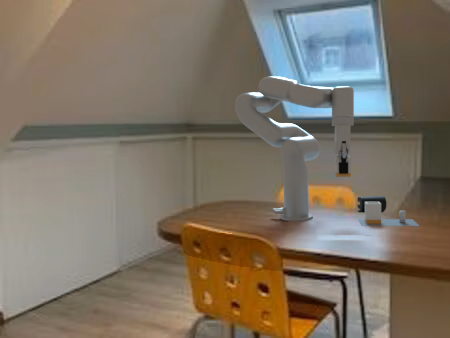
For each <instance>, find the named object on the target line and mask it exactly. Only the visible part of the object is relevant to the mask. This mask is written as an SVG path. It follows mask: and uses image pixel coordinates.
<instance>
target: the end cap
mask: <svg viewBox="0 0 450 338" xmlns="http://www.w3.org/2000/svg"><path fill="white" fill-rule="evenodd" d="M386 199H387V198H386V197H385V195H382V196H381V195H375V196H374V195H373V196H358V197H357V202H358V203H359V204H357V205H356V206H357V209H358V210H357V212H358V213H365V202H380V203H381V213H384V212H385V211H386V210H387V200H386Z"/></svg>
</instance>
